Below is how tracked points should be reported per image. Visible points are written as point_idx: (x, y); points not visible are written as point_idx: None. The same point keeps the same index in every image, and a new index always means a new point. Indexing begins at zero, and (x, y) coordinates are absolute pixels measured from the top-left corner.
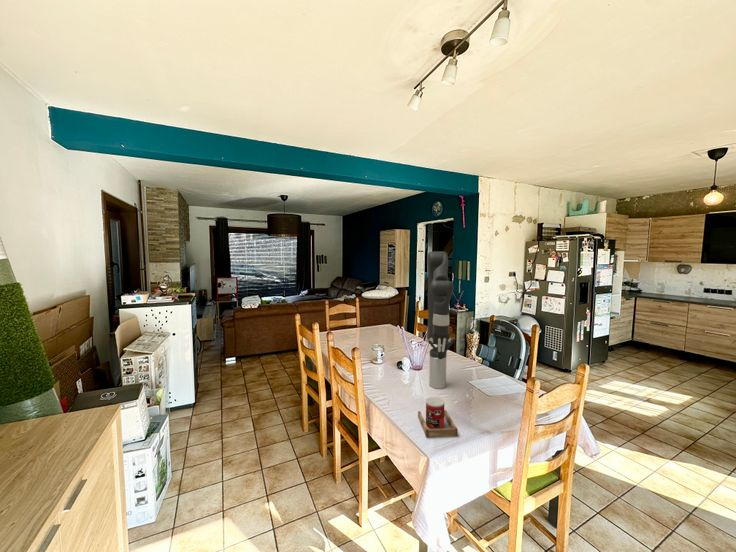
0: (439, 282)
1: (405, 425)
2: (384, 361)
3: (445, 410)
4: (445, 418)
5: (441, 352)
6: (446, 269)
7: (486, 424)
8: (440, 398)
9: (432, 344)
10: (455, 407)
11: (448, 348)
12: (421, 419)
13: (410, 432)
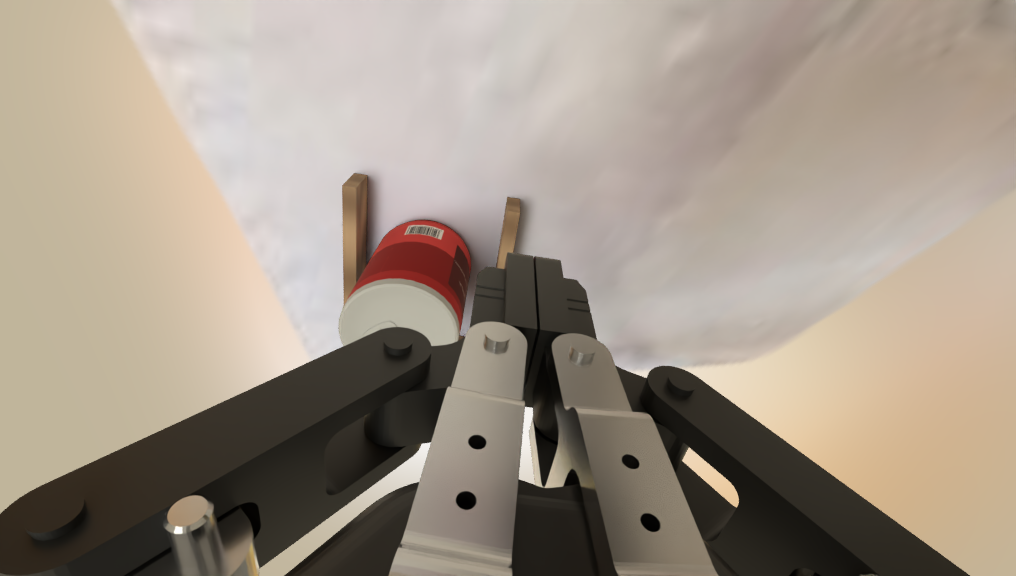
0: None
1: (270, 227)
2: None
3: (514, 217)
4: (502, 228)
5: (526, 399)
6: None
7: (678, 307)
8: (446, 312)
9: (256, 548)
10: (633, 118)
11: (683, 488)
12: (344, 262)
13: (288, 283)
